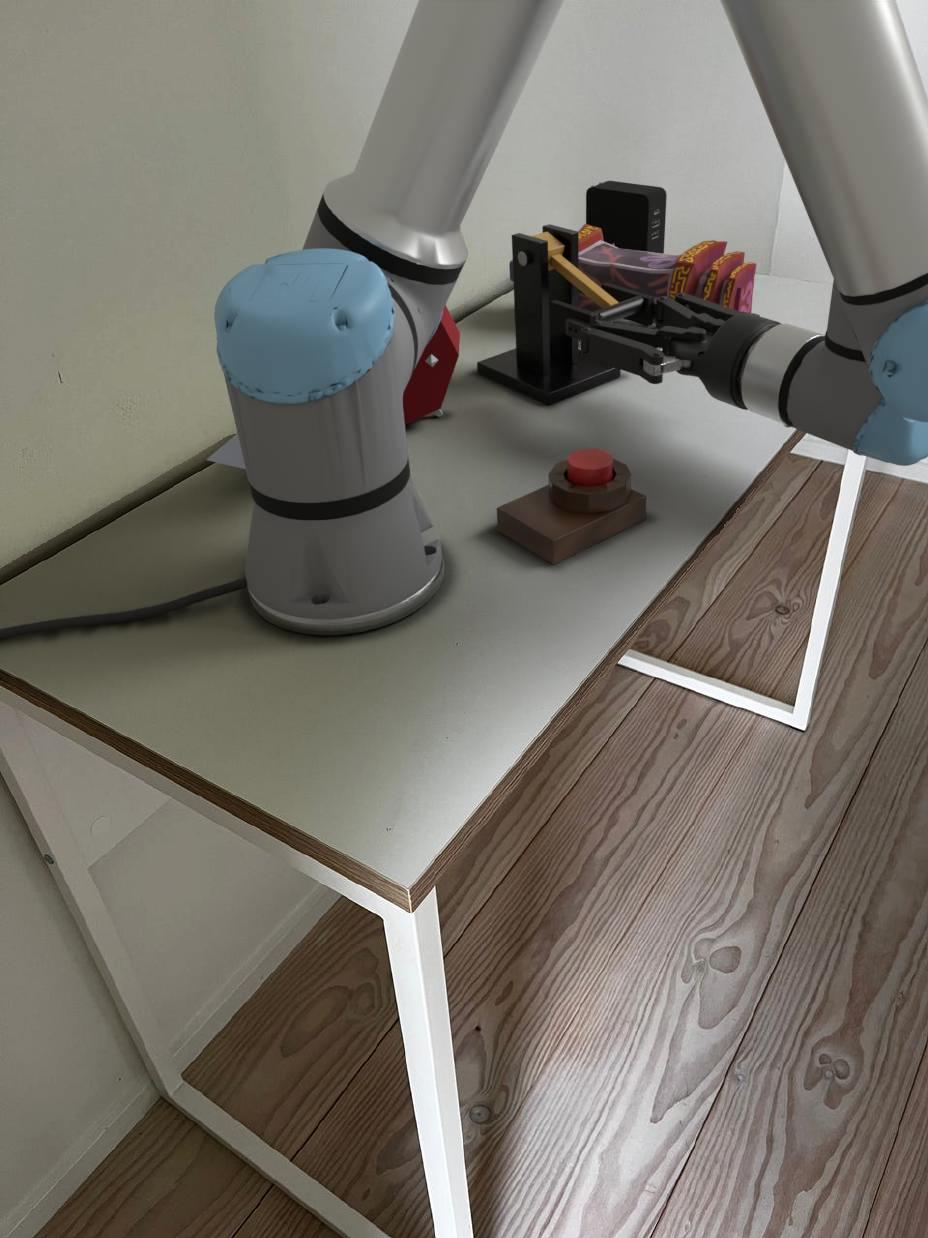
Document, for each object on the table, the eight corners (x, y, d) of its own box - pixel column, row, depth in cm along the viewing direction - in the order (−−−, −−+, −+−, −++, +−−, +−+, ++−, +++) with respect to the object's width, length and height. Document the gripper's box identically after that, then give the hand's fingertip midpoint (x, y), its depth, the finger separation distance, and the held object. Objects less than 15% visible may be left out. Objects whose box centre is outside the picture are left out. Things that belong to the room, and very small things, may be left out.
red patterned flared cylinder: (769, 241, 107) (532, 216, 122) (734, 266, 101) (490, 237, 116) (759, 330, 113) (535, 296, 128) (726, 359, 107) (495, 319, 122)
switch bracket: (620, 377, 105) (624, 232, 96) (549, 405, 101) (546, 256, 92) (546, 348, 113) (543, 212, 104) (477, 373, 109) (468, 233, 100)
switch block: (553, 565, 77) (552, 520, 75) (497, 530, 82) (495, 487, 79) (647, 518, 82) (649, 475, 79) (589, 488, 86) (590, 446, 84)
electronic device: (645, 274, 132) (648, 195, 126) (585, 263, 137) (585, 186, 132) (663, 266, 134) (667, 187, 128) (603, 255, 140) (604, 179, 134)
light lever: (641, 317, 96) (648, 296, 95) (596, 334, 94) (602, 312, 92) (556, 248, 102) (561, 226, 100) (511, 262, 99) (515, 240, 98)
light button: (588, 493, 78) (588, 473, 77) (558, 477, 81) (558, 458, 80) (621, 478, 80) (622, 458, 79) (591, 463, 82) (591, 444, 81)
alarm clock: (465, 401, 103) (450, 198, 91) (464, 439, 96) (447, 223, 84) (323, 410, 104) (290, 209, 92) (312, 447, 97) (275, 235, 85)
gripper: (683, 445, 81) (505, 368, 96) (831, 377, 89) (646, 317, 105) (689, 356, 76) (502, 291, 92) (844, 294, 85) (648, 244, 101)
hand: (579, 305), depth 98 cm, fingers closed on light lever, 6 cm apart
